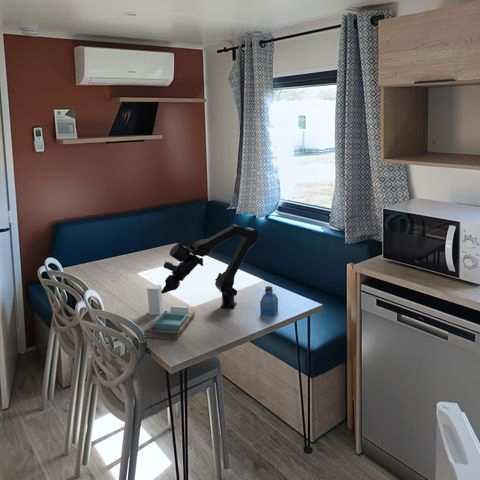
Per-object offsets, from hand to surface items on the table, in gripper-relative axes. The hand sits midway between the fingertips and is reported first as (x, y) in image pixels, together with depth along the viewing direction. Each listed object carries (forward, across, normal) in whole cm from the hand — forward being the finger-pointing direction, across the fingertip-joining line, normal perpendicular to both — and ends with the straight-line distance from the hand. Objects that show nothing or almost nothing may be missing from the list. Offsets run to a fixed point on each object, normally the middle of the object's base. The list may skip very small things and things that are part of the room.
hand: (164, 289), depth 228 cm
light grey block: (+11, 0, +5) cm, 12 cm away
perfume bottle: (-25, -2, +41) cm, 48 cm away
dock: (+4, +15, +12) cm, 20 cm away
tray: (+3, +11, +12) cm, 17 cm away
